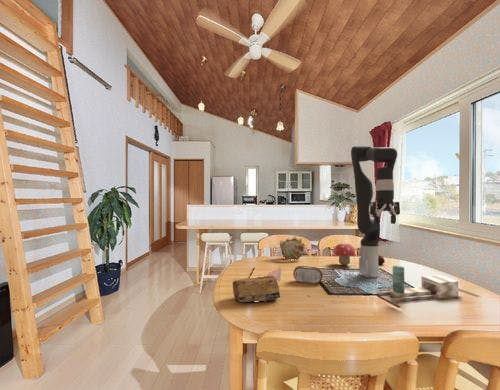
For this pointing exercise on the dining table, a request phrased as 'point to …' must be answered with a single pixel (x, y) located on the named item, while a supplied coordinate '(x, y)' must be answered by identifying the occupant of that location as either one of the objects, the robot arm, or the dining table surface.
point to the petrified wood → (256, 289)
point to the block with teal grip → (399, 285)
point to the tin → (308, 274)
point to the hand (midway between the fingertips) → (385, 223)
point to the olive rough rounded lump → (292, 248)
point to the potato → (380, 260)
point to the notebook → (275, 273)
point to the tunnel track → (436, 284)
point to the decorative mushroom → (344, 253)
